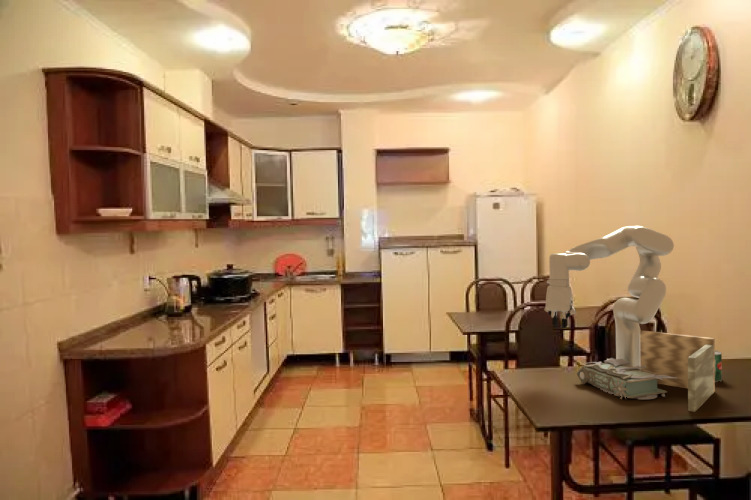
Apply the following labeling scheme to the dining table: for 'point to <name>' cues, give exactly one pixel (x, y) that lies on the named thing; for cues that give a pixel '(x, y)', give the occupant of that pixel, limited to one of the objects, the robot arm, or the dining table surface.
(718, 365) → the canned tomato
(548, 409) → the dining table surface
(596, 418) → the dining table surface
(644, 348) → the wooden corner bracket
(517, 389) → the dining table surface
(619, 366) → the ornate book
